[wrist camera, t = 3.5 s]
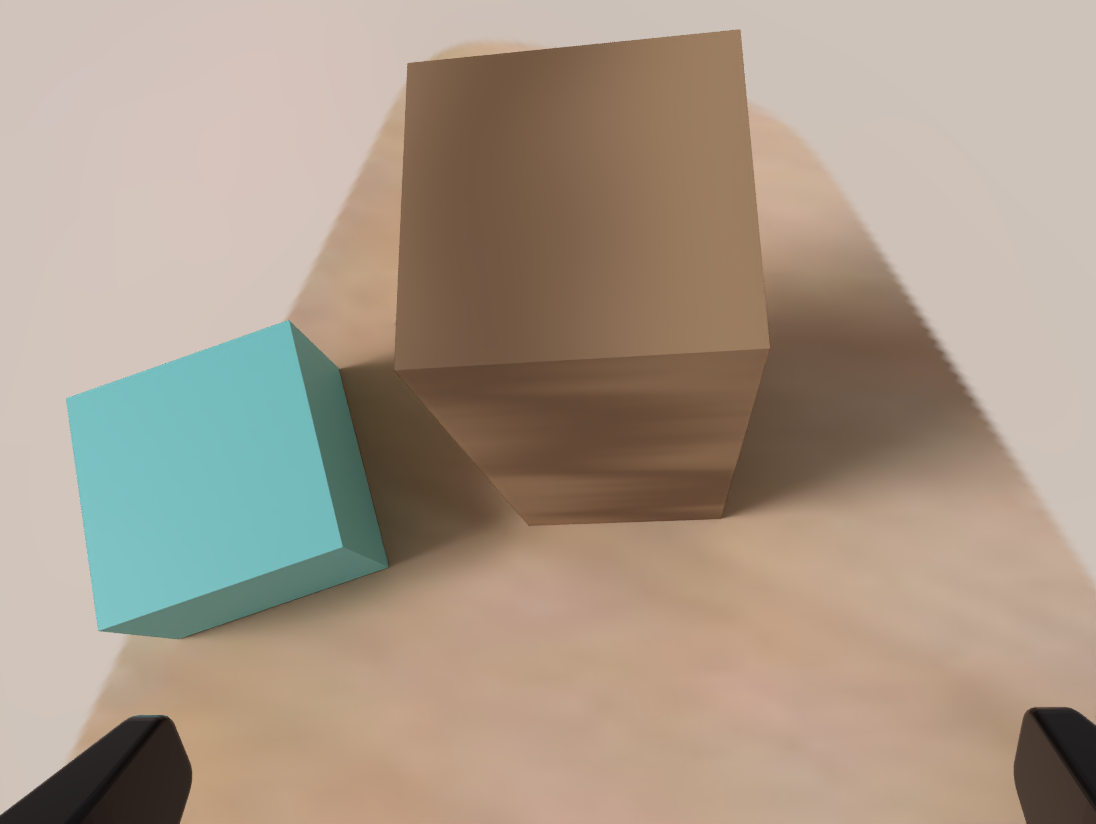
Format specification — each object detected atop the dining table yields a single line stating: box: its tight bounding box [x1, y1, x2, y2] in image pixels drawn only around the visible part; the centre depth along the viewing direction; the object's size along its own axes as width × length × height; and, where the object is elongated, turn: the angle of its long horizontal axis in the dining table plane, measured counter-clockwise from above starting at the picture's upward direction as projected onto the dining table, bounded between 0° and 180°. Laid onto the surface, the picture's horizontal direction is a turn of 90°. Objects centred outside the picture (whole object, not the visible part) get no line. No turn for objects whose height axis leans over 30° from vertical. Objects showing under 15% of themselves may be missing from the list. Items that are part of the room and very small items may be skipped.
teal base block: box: [66, 320, 389, 639], centre depth 23 cm, size 6×6×4 cm
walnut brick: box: [394, 30, 770, 526], centre depth 18 cm, size 5×5×12 cm
